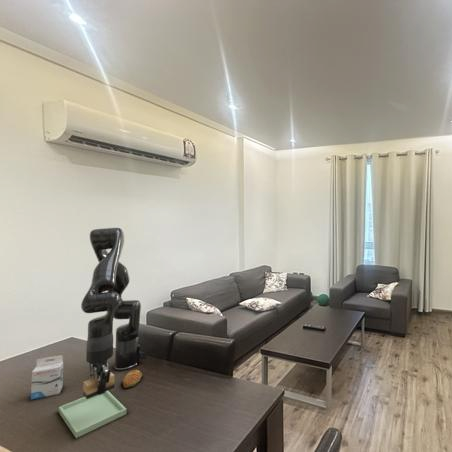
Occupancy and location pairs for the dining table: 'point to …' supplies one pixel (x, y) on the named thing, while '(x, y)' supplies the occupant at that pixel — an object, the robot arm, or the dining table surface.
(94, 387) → the eraser
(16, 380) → the dining table surface
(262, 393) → the dining table surface
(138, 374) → the pastry
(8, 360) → the dining table surface
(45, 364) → the ink box
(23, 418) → the dining table surface
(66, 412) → the tray
